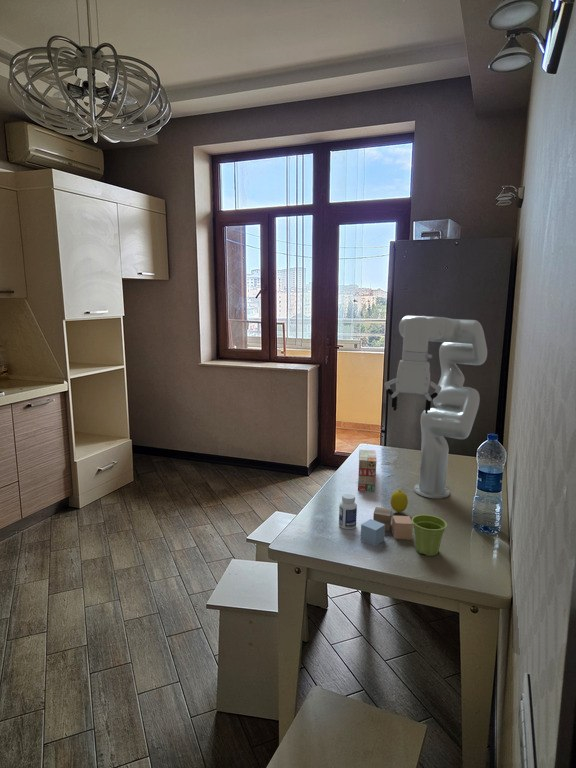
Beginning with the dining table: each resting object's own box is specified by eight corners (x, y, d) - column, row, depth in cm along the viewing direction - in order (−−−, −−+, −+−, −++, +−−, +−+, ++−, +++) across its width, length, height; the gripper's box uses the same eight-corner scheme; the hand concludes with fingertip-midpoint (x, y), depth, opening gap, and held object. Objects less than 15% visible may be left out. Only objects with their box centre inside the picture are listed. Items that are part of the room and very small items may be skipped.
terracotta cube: (391, 530, 144) (392, 515, 143) (408, 531, 144) (409, 516, 143) (394, 538, 139) (395, 523, 138) (411, 539, 139) (412, 523, 138)
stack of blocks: (358, 471, 195) (359, 442, 193) (373, 472, 194) (375, 443, 192) (357, 491, 174) (359, 459, 172) (374, 492, 173) (376, 460, 171)
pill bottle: (358, 524, 148) (360, 495, 146) (352, 531, 143) (353, 501, 141) (342, 520, 150) (344, 491, 149) (335, 526, 146) (337, 497, 144)
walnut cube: (374, 521, 150) (375, 506, 149) (390, 524, 149) (391, 509, 148) (372, 528, 145) (373, 513, 145) (389, 531, 144) (390, 515, 143)
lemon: (394, 517, 153) (396, 494, 152) (387, 510, 158) (388, 487, 157) (410, 515, 155) (411, 492, 153) (401, 508, 160) (403, 486, 158)
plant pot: (403, 543, 136) (405, 515, 135) (433, 540, 138) (435, 513, 137) (419, 561, 127) (422, 531, 126) (451, 557, 130) (453, 528, 128)
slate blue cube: (369, 534, 142) (370, 518, 141) (384, 540, 138) (385, 524, 137) (360, 540, 138) (361, 524, 137) (374, 546, 135) (375, 530, 134)
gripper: (444, 357, 146) (439, 411, 149) (387, 354, 152) (384, 406, 154) (443, 360, 139) (439, 416, 142) (384, 356, 145) (381, 410, 147)
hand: (410, 411), depth 148 cm, fingers open, 9 cm apart
